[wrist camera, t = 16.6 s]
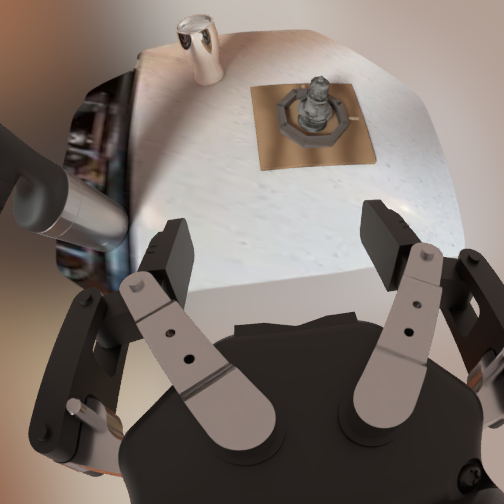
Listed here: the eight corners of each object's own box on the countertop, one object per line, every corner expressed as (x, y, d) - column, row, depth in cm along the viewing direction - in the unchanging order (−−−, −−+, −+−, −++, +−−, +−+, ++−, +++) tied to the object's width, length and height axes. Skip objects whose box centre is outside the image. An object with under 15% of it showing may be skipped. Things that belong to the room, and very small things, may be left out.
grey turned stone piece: (323, 138, 44) (336, 96, 32) (291, 126, 45) (295, 82, 33) (332, 114, 45) (345, 71, 33) (301, 103, 46) (308, 58, 34)
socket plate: (260, 170, 45) (260, 162, 42) (250, 90, 48) (249, 80, 45) (374, 164, 44) (380, 156, 41) (349, 87, 47) (353, 77, 44)
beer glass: (231, 78, 48) (220, 23, 34) (200, 92, 48) (181, 39, 34) (218, 61, 50) (205, 9, 35) (188, 73, 49) (169, 23, 35)
